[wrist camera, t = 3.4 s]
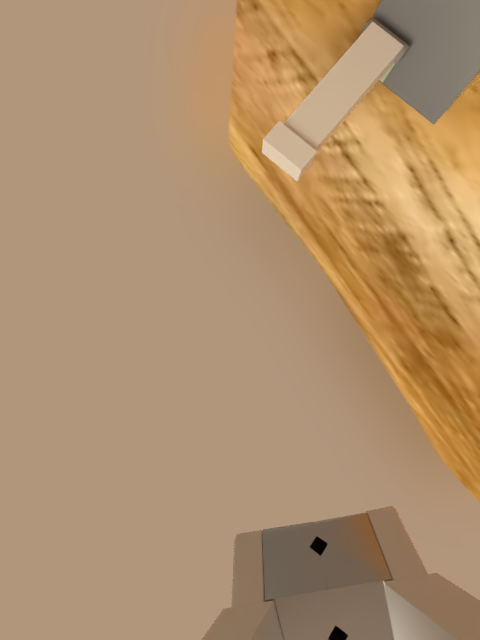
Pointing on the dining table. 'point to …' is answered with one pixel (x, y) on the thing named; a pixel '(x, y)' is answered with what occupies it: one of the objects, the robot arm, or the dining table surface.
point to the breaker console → (432, 51)
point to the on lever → (333, 99)
